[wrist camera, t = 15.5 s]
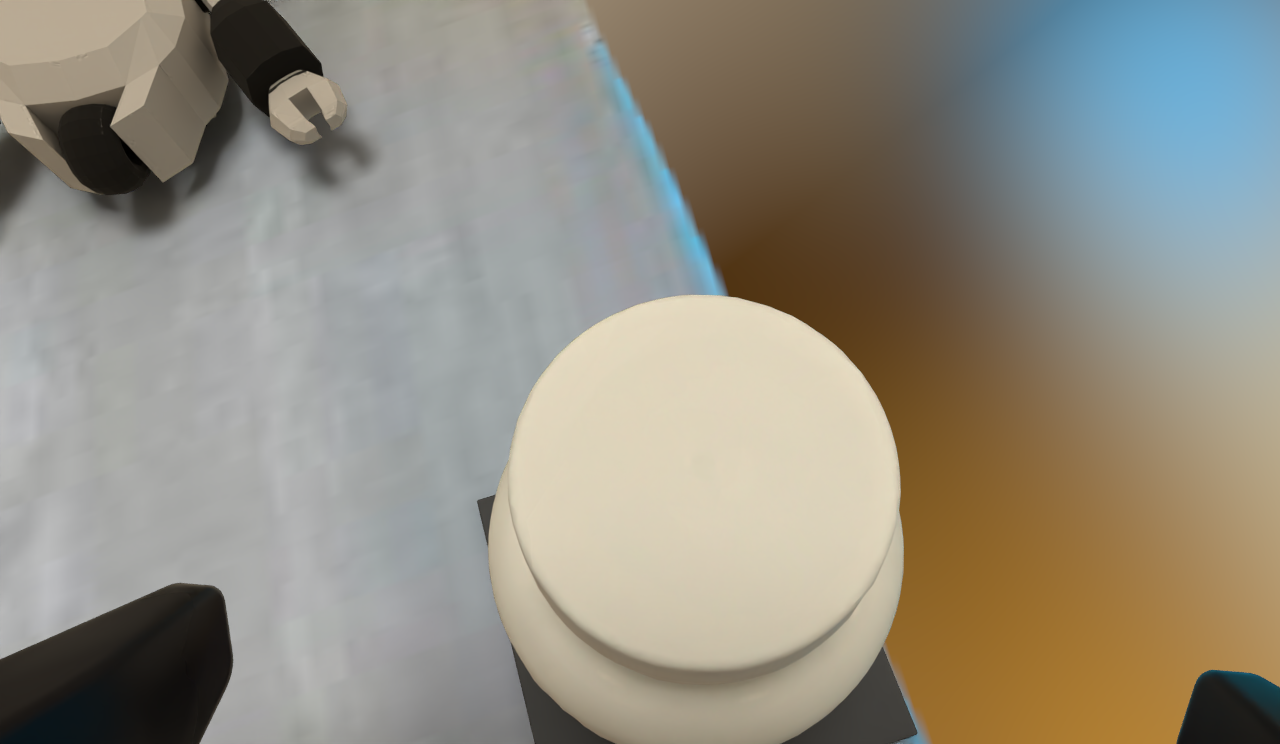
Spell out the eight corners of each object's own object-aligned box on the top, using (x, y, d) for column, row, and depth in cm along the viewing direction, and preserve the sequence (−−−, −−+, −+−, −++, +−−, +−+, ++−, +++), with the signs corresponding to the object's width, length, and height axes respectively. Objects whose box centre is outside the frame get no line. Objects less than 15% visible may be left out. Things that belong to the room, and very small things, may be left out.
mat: (914, 734, 17) (918, 733, 17) (563, 855, 16) (561, 857, 16) (783, 411, 20) (785, 406, 20) (479, 503, 19) (476, 500, 19)
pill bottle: (497, 596, 18) (333, 428, 9) (699, 439, 19) (727, 157, 10) (664, 830, 16) (663, 903, 7) (875, 640, 17) (1093, 505, 9)
